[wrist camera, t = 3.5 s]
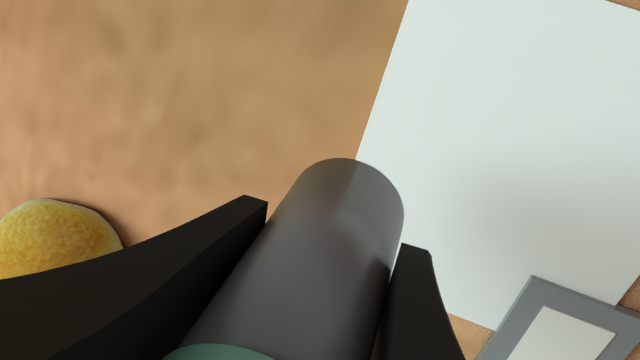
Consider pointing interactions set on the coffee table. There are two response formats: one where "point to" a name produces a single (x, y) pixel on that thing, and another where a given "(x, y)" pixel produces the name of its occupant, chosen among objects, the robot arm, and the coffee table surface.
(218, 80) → the coffee table surface
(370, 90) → the coffee table surface
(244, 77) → the coffee table surface
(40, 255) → the bread roll
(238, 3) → the coffee table surface
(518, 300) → the picture frame
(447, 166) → the paper
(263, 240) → the grey teal-capped tube
